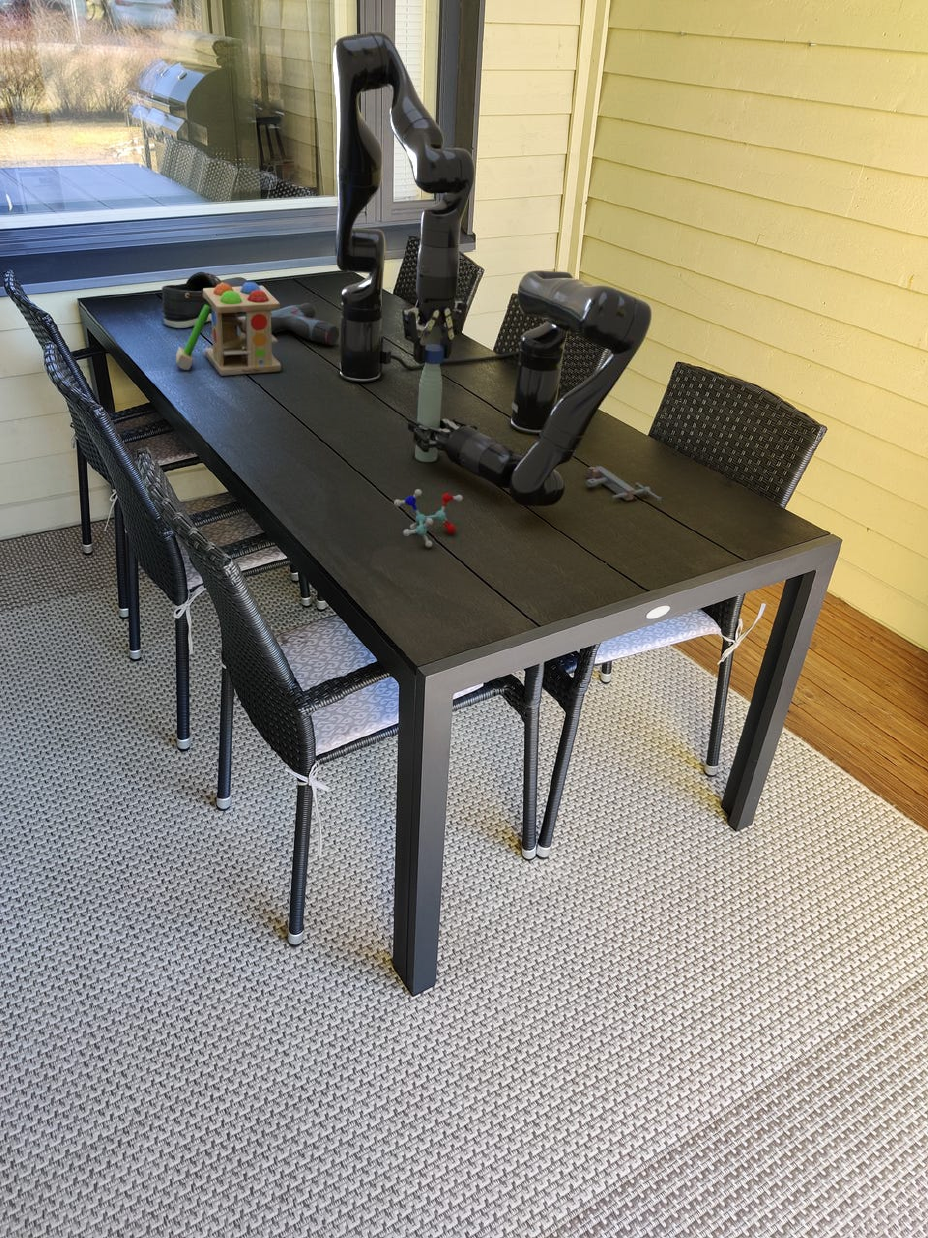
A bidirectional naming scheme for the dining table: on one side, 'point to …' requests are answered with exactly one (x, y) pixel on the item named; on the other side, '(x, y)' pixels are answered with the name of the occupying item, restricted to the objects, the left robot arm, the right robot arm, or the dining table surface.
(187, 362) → the pounding bench toy
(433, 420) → the bottle
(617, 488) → the clamp
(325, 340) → the power drill
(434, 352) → the cap
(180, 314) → the boat shoe
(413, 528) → the molecular model
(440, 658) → the dining table surface
